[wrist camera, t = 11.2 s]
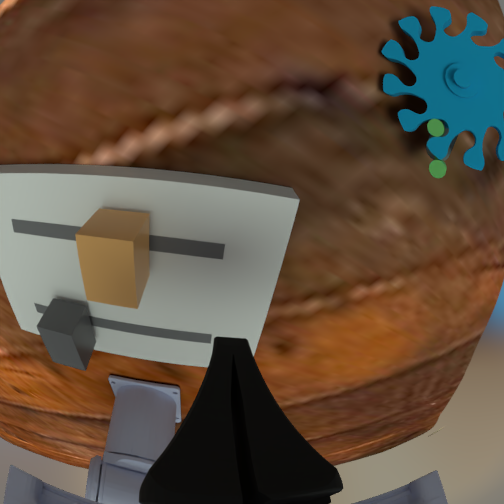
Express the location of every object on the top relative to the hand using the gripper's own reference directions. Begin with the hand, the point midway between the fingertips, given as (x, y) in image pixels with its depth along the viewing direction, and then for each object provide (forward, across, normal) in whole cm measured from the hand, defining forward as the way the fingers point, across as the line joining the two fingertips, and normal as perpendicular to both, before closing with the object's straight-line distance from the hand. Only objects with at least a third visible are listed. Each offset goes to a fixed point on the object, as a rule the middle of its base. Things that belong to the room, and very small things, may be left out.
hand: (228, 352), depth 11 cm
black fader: (+6, +11, +6) cm, 14 cm away
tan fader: (+6, +6, -1) cm, 8 cm away
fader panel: (+8, +8, +2) cm, 12 cm away
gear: (+8, -10, -14) cm, 19 cm away
